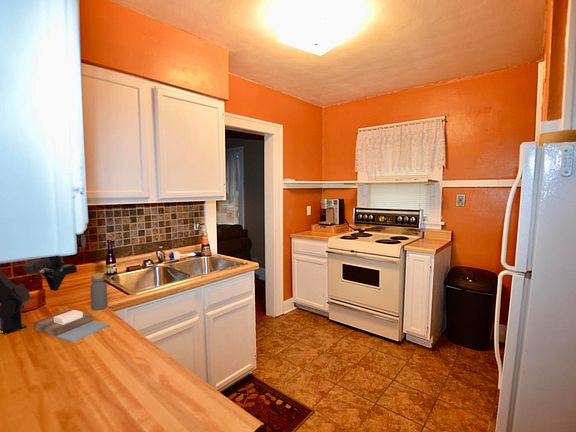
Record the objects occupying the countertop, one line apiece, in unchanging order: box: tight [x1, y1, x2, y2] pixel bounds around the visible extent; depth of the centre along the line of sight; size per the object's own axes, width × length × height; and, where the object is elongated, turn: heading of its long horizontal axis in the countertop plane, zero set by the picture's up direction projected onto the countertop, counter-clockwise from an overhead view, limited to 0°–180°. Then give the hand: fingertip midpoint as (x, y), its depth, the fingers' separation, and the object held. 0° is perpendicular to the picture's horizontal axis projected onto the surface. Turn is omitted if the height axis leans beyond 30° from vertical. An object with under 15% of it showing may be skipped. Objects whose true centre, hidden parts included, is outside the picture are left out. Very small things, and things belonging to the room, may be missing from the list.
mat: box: [56, 320, 110, 343], centre depth 106 cm, size 8×13×1 cm, turn 158°
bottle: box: [89, 271, 108, 311], centre depth 127 cm, size 6×6×15 cm
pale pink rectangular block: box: [54, 309, 84, 325], centre depth 108 cm, size 5×7×2 cm
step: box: [33, 309, 93, 337], centre depth 110 cm, size 14×12×3 cm
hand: (54, 290), depth 110 cm, fingers closed
